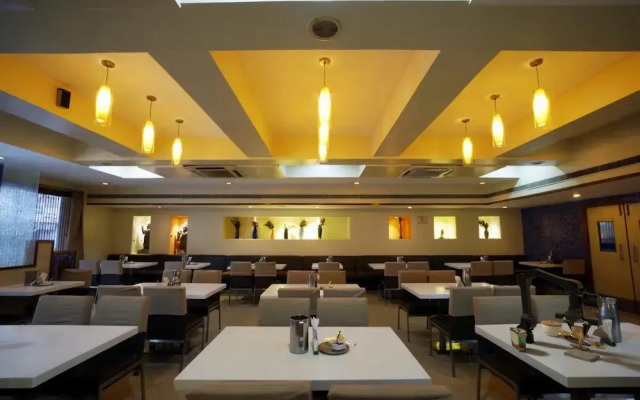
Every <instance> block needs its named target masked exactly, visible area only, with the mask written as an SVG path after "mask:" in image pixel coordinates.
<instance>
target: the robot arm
mask: <svg viewBox="0 0 640 400" xmlns="http://www.w3.org/2000/svg"><path fill="white" fill-rule="evenodd" d="M515 278H516V283H517V285H518V287H519V289H520V298H521V309H522V311H521V316H520V321H519V322H520V323H519V324H517V326H516V327H515V328H519V329H523V330H525V331H526V333H527V336H526V344H532V343H536V341H535V336H534V333H533V331H534V330H535V328H537V325H538V321H537V320H538V317H537V316H535V315H534V314H533V308H532V299H531V286H532V283H533V280H534V279H536V278H540V279H543V280H546V281H549V282H551V283H554V284H557V286H558V285H559V286H560V287H561V288H562V289H564V290H565V292H563V293H562V295H563V296H567V297H568V307H567V310H566V311H565V312H561V311H558V312H555V313H554V318H555V319H558V320H562V322H565V324H566V325H567V326H568V327H569V330H570V331H571V332H570V333H572V330H571V326H575V322H576V323H577V321H578V322H583V323H582V327H583V331H584V337H586V336H587V337H588V334H589V331H590V329H591V327H592V326H594V327H599V326H600V327H601V326H604V325H603V320H602V319H601V318H596V317H589V318H586V315H585V311H584V310H585V307H588V308H594V309H595V308H596V309H600V310H601V309H602V308H603V300H602V298H601V297H600V294H599V293H589V292H588V291H587V289H586V288H585V287H584V285H583V283H582V282H581V281H579V280H576V279H572V278H565V277H562V276H558V275H556V274H553V273H549V272H547V271H545V270H543V269H539V268H535V269H534V268H533V269H531V270H530V271H526V272H524V273H517V274H516V276H515Z"/></svg>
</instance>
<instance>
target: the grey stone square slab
mask: <svg viewBox="0 0 640 400" xmlns="http://www.w3.org/2000/svg"><path fill="white" fill-rule="evenodd" d="M563 355H564V356H567V357H571V358H574V359H577V360H578V359H579V360H582V361H584V360H585V362H588V361H589V363H591V362H593V361H595V360H599V359H601V355H598V354H596V353H591V352H588V351H585V350H581V349H577V348H573V349H570V350H566V351H563Z"/></svg>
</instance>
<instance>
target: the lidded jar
mask: <svg viewBox="0 0 640 400" xmlns="http://www.w3.org/2000/svg"><path fill="white" fill-rule="evenodd" d="M540 325H541V329H542V331H543V332H544V333H545V335H546V336H549V337H554V338H558V337H559V336H560V335H559V334H557V332H563V324H562V322H559V321H554V320H553V319H549V320H541V321H540Z"/></svg>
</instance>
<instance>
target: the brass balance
mask: <svg viewBox="0 0 640 400" xmlns="http://www.w3.org/2000/svg"><path fill="white" fill-rule="evenodd" d="M557 334H559V336H564V337H569V336H572V332H570V331H568V330H564V329H562V332H557ZM584 340H585V341H587V342H590V343H592V344H590V347H591V348H593V349H597V350H607V347H606V346H604V345H601V342H600V341H594V340H592V339H589V338H587V339H584ZM582 341H583V340H582V339H578V344H577V343H576V344H573V345H572V348H573V349H576V350H580V351H584V352H587V351H589V350H590V347H589V346H584V345H583V342H582Z"/></svg>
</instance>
